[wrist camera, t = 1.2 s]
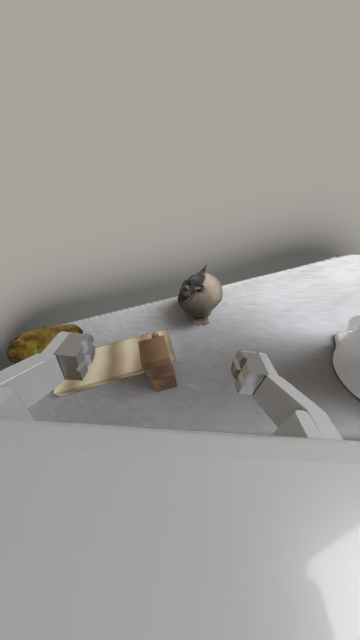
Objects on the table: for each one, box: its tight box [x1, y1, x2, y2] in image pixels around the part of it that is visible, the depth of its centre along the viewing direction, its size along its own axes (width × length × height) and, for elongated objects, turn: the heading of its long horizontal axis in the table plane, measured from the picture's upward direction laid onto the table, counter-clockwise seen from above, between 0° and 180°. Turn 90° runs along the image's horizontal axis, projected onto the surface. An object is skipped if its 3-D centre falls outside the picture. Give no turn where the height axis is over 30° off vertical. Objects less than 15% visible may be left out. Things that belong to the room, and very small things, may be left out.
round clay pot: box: [178, 266, 222, 325], centre depth 41 cm, size 10×12×10 cm
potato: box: [7, 325, 83, 364], centre depth 39 cm, size 8×13×8 cm, turn 111°
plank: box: [53, 329, 177, 397], centre depth 38 cm, size 24×8×2 cm, turn 104°
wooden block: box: [138, 333, 177, 392], centre depth 33 cm, size 4×11×12 cm, turn 14°
